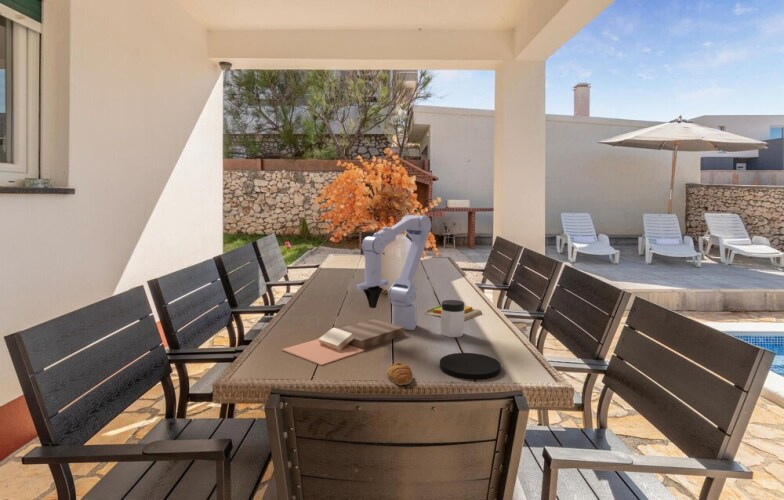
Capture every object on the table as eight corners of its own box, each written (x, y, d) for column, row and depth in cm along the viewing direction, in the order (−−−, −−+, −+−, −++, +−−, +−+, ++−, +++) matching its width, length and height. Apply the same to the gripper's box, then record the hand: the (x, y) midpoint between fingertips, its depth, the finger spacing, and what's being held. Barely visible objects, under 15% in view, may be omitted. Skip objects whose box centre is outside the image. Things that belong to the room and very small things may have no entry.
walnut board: (373, 326, 183) (373, 318, 183) (404, 335, 172) (404, 327, 172) (329, 339, 167) (329, 330, 166) (361, 349, 156) (361, 340, 156)
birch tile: (335, 332, 165) (333, 327, 164) (354, 338, 158) (352, 333, 157) (320, 343, 160) (318, 338, 160) (339, 350, 154) (337, 345, 153)
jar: (443, 329, 180) (444, 298, 178) (465, 331, 177) (466, 300, 176) (438, 336, 171) (439, 304, 170) (461, 338, 169) (462, 305, 167)
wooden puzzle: (446, 307, 217) (446, 300, 216) (483, 314, 205) (483, 307, 204) (423, 315, 203) (424, 307, 203) (461, 323, 191) (462, 314, 191)
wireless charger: (469, 355, 153) (469, 349, 153) (513, 372, 139) (513, 365, 139) (427, 366, 142) (427, 360, 142) (470, 386, 128) (470, 379, 128)
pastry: (417, 386, 128) (417, 372, 127) (393, 388, 126) (393, 374, 126) (407, 373, 137) (408, 360, 136) (385, 375, 135) (385, 362, 135)
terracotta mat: (324, 338, 168) (324, 337, 168) (364, 351, 155) (364, 350, 154) (281, 350, 155) (281, 349, 154) (321, 365, 141) (321, 364, 141)
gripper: (366, 273, 161) (366, 313, 162) (394, 269, 171) (394, 305, 173) (352, 271, 165) (352, 309, 167) (380, 266, 176) (380, 302, 178)
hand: (372, 307), depth 170 cm, fingers closed
